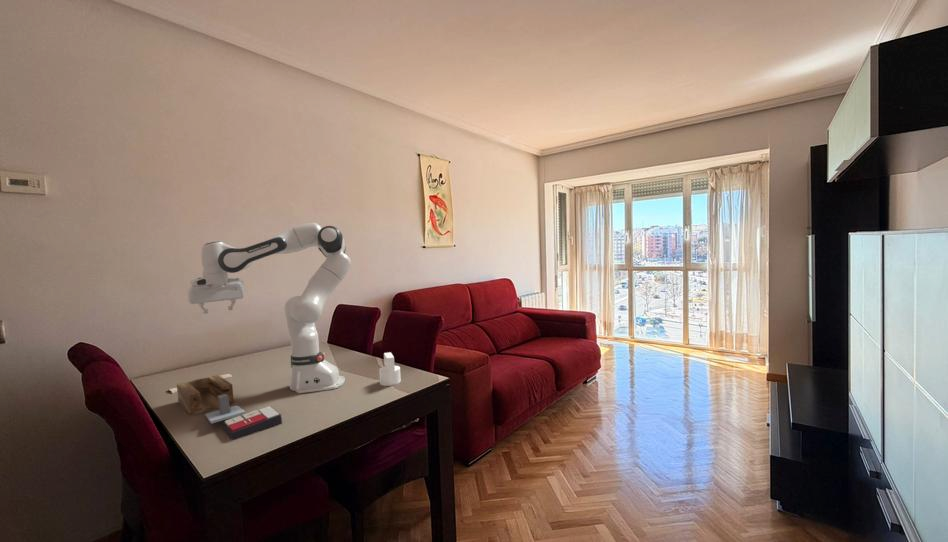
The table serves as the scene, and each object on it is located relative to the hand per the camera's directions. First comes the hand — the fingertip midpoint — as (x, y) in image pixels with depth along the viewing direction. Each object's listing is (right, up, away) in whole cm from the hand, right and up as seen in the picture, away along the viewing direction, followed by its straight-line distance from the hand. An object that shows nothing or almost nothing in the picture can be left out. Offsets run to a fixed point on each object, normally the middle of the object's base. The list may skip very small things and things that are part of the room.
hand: (218, 311), depth 166 cm
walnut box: (+3, -35, -13) cm, 37 cm away
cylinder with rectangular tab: (+73, -31, +3) cm, 80 cm away
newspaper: (-15, -35, +11) cm, 40 cm away
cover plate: (+22, -34, -29) cm, 49 cm away
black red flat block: (+35, -36, -35) cm, 61 cm away
